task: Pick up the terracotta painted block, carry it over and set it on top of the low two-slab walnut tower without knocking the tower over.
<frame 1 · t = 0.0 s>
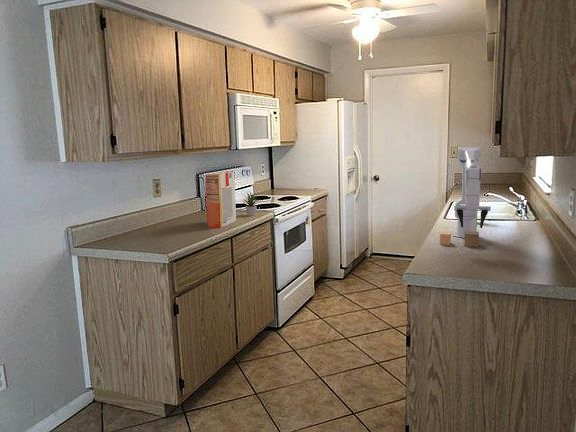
hand: (471, 227, 206), 11 cm above the worktop, tool pointing down, fingers open, 7 cm apart
house plant: (253, 215, 312), on the worktop
tower base: (471, 245, 220), on the worktop, touching tower top
soap dispenser: (472, 222, 274), on the worktop
tower top: (471, 239, 220), point 3 cm above the worktop, touching tower base
terracotta block: (445, 243, 224), on the worktop
pasta box: (222, 224, 285), on the worktop
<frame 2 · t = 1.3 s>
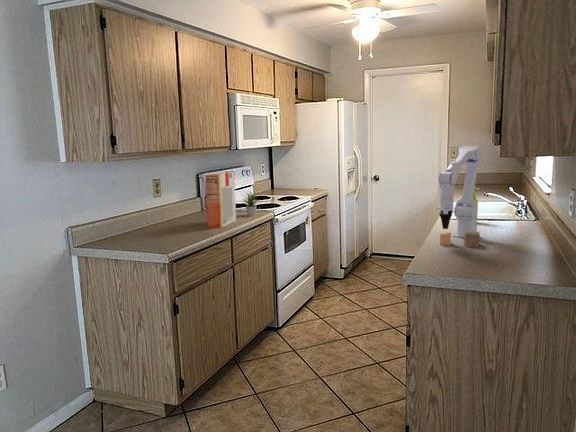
hand: (445, 227, 222), 8 cm above the worktop, tool pointing down, fingers open, 7 cm apart
nothing on the worktop moved.
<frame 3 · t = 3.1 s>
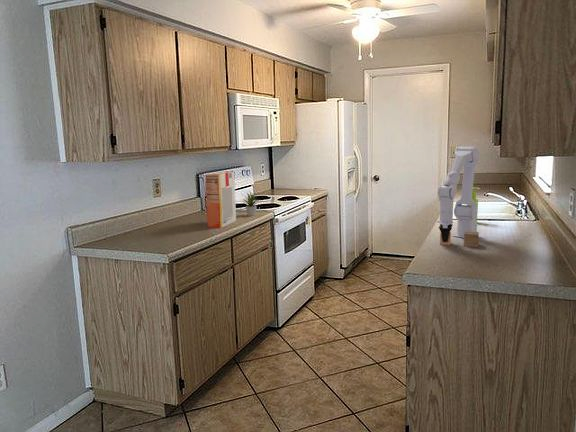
hand: (445, 240, 223), 1 cm above the worktop, tool pointing down, fingers closed on terracotta block, 4 cm apart
terracotta block: (445, 243, 224), on the worktop, touching gripper
everything else where it was.
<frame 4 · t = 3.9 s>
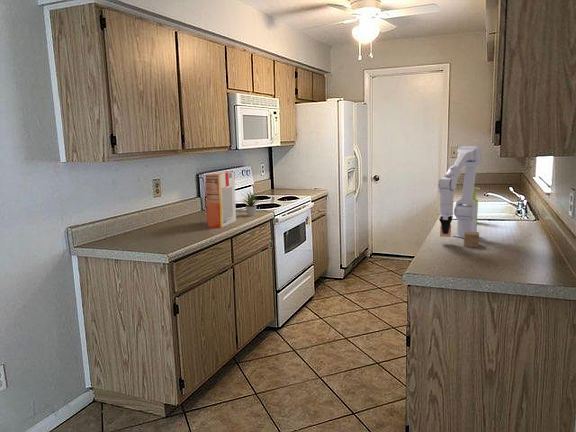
hand: (445, 232, 223), 5 cm above the worktop, tool pointing down, fingers closed on terracotta block, 4 cm apart
terracotta block: (445, 235, 223), point 4 cm above the worktop, touching gripper
everything else where it was.
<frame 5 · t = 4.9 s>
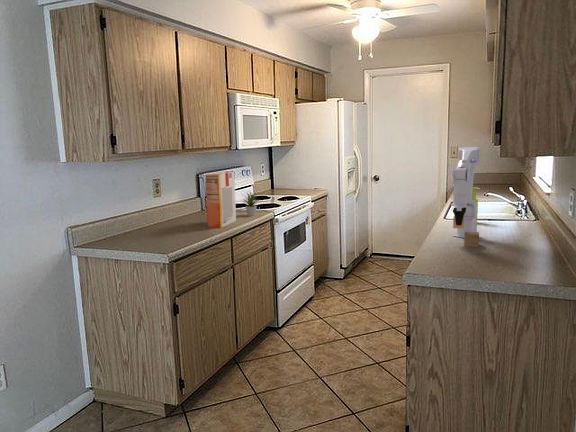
hand: (459, 224, 220), 9 cm above the worktop, tool pointing down, fingers closed on terracotta block, 4 cm apart
terracotta block: (458, 227, 221), point 8 cm above the worktop, touching gripper
everything else where it was.
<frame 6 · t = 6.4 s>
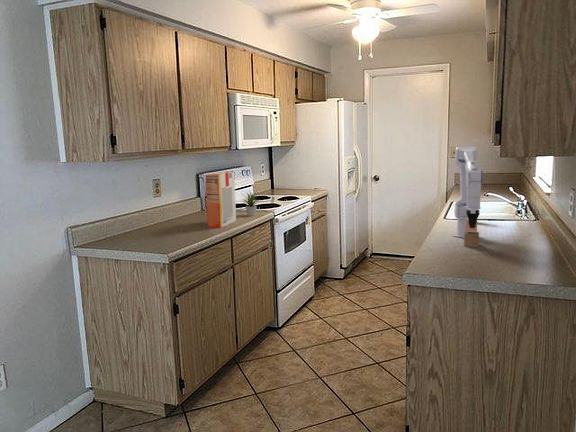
hand: (472, 226, 219), 8 cm above the worktop, tool pointing down, fingers closed on terracotta block, 4 cm apart
terracotta block: (471, 230, 219), point 7 cm above the worktop, touching gripper
everything else where it was.
when the fingers open (8 cm above the worktop, at t = 6.6 s): terracotta block drops 1 cm, resting on tower top.
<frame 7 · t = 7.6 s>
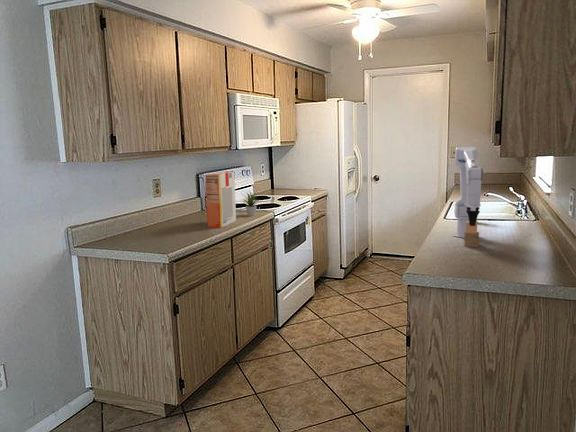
hand: (472, 224, 219), 10 cm above the worktop, tool pointing down, fingers open, 7 cm apart
tower top: (471, 239, 220), point 3 cm above the worktop, touching terracotta block, tower base
terracotta block: (471, 232, 219), point 6 cm above the worktop, touching tower top
everything else where it was.
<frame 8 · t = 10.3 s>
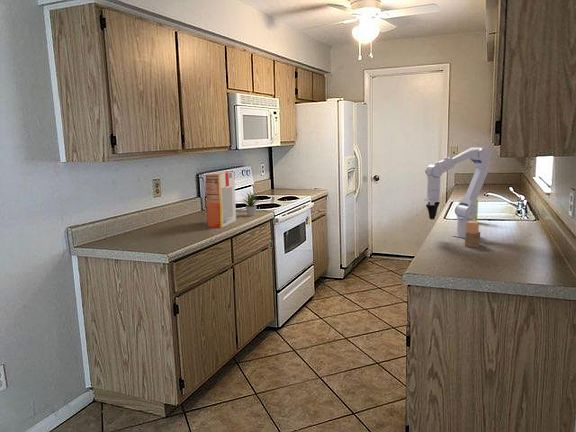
hand: (432, 218, 232), 10 cm above the worktop, tool pointing down, fingers open, 7 cm apart
at the end: terracotta block 0.4 cm off-centre on the tower top, point 3.0 cm above the tower top's base; tower top tilted 0°; tower top 0.2 cm from the tower base (horizontally) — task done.
